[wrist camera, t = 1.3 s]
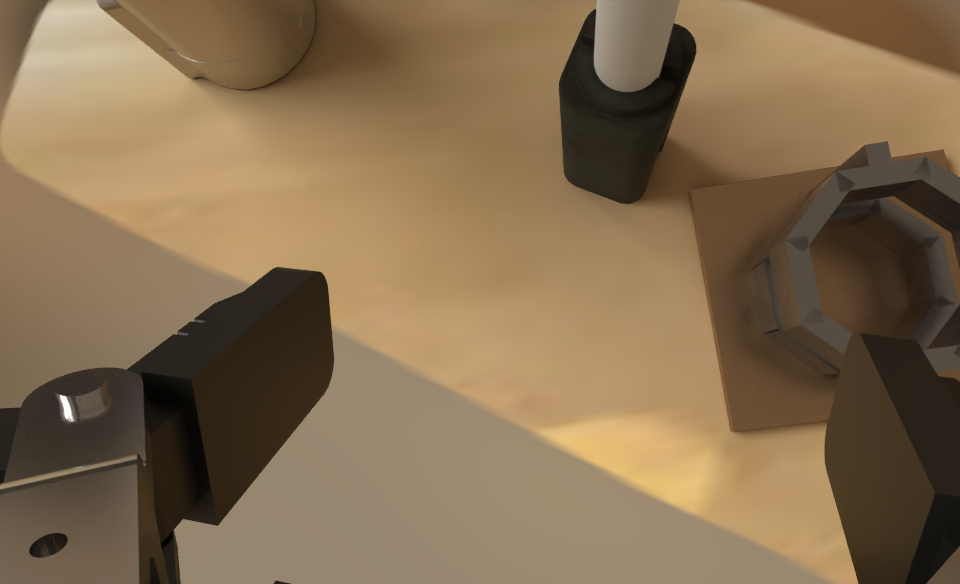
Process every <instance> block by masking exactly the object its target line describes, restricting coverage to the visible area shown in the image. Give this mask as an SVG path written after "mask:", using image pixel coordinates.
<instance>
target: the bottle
mask: <svg viewBox="0 0 960 584" xmlns="http://www.w3.org/2000/svg"><path fill="white" fill-rule="evenodd" d="M679 1H680V0H597V6H596V9H594V10H593V11H592V12H591V13H590V14H589V15H588V16H587V18H586V20H585V21H584V24H583V26H582V28H581V31H580V33H579V35H578V38H577V40H576V42H575V45H574V47H573V49H572V52H571V54H570V56H569V59H568V61H567V63H566V66H565V68H564V70H563V73H562V75H561V78H560V81H559V96H560V113H561V130H562V146H563V163H564V173H565V176H566V178H567V180H568V181H569V182H570V183H571V184H573V185H575V186H577V187H579V188H582V189H585V190H587V191H590V192H593V193H595V194H598V195H600V196H603V197H606V198H608V199H611V200H614V201H616V202H619V203H632V202H635V201H636V200H638V199H639V198H640V197H641V196H642V195H643V193H644V192H645V189H646V186H647V183H648V180H649V177H650V175H651V172H652V169H653V166H654V163H655V160H656V157H657V155H658V152H661V151H662V148H663V146H664V143H665V140H666V137H667V134H668V132H669V129H670V126H671V123H672V120H673V118H674V115H675V112H676V109H677V106H678V104H679V101H680V98H681V95H682V92H683V90H684V87H685V84H686V81H687V78H688V76H689V73H690V70H691V67H692V64H693V62H694V59H695V55H696V43H695V40H694V38H693V36H692V35H691V33H690V32H689V31H688V30H687V29H686V28H684V27H682V26H680V25H677V24H674V19H675V16H676V12H677V8H678V4H679Z"/></svg>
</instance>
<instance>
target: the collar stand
mask: <svg viewBox="0 0 960 584" xmlns="http://www.w3.org/2000/svg"><path fill="white" fill-rule="evenodd" d="M689 198H690V204H691V209H692V215H693V221H694V226H695V232H696V238H697V243H698V249H699V254H700V260H701V266H702V271H703V277H704V283H705V288H706V294H707V300H708V305H709V311H710V317H711V322H712V328H713V334H714V339H715V345H716V351H717V356H718V362H719V367H720V373H721V379H722V384H723V390H724V396H725V401H726V407H727V413H728V418H729V424H730V430H731V431H732V432H738V431H746V430H754V429H762V428H771V427H779V426H787V425H795V424H803V423H811V422H820V421H828V420H829V416H830V412H831V408H832V403H833V399H834V395H835V391H836V387H837V383H838V379H839V375H840V371H841V367H842V363H843V359H844V355H845V351H846V347H847V344H848V342H849V339H850V337H851V336H852V335H853V334H854V333H855V332H860V333H869V334H878V335H887V336H896V337H905V338H914V339H915V340H916V341H917V342H918V344H919V345H920V347H921V348H922V350H923V352H924V353H925V355H926V357H927V358H928V360H929V362H930V363H931V365H932V367H933V368H934V370H935V371H936V373H937V375H938V376H942V377H950V378H955V379H957V380H958V381H959V382H960V178H959V177H958V176H956V175H955V174H953V173H951V172H950V171H948V166H947V162H946V158H945V153H944V150H937V151H931V152H925V153H918V154H912V155H906V156H899V157H893V158H891V155H890V150H889V146H888V141H887V142H881V143H875V144H869V145H865V146H863V147H862V148H861V149H860V150H859V151H857V152H856V153H855V154H854V155H853V156H851V157H850V158H849V159H848V160H847V161H846V162H844V163H843V164H842V165H841V166H837V167H830V168H824V169H818V170H811V171H805V172H799V173H793V174H786V175H780V176H774V177H767V178H761V179H755V180H748V181H742V182H736V183H730V184H723V185H717V186H711V187H704V188H698V189H692V190H690V192H689Z"/></svg>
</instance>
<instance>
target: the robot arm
mask: <svg viewBox="0 0 960 584" xmlns="http://www.w3.org/2000/svg"><path fill="white" fill-rule="evenodd" d="M97 3H98V5H99V7H100V8H101V9H102V10H104V11H105V12H106V13H107V14H109V15H110V16H111V17H112V18H114V19H115V20H116V21H117V22H119V23H120V24H121V25H122V26H124V27H125V28H126V29H127V30H129V31H130V32H131V33H132V34H134V35H135V36H136V37H137V38H139V39H140V40H141V41H142V42H144V43H145V44H146V45H148V46H149V47H150V48H151V49H153V50H154V51H155V52H156V53H158V54H159V55H160V56H161V57H163V58H164V59H165V60H166V61H168V62H169V63H170V64H171V65H173V66H174V67H175V68H176V69H178V70H179V71H180V72H181V73H183V74H184V75H185V76H186V77H188V78H196V77H204V78H206V79H209V80H211V81H212V82H214V83H216V84H218V85H220V86H224V87H228V88H232V89H251V88H257V87H262V86H264V85H267V84H269V83H272V82H274V81H276V80H278V79H279V78H281V77H282V76H284V75H285V74H287V73H288V72H289V71H290V70H291V69H292V68H293V67H294V66H295V65H296V64H297V63H298V62H299V61H300V59H301V58H302V56H303V55H304V54H305V52H306V51H307V48H308V46H309V44H310V42H311V39H312V37H313V32H314V27H315V6H314V1H313V0H97ZM333 365H334V352H333V341H332V329H331V317H330V306H329V294H328V285H327V281H326V278H325V277H324V275H323V274H322V273H321V272H318V271H309V270H300V269H290V268H281V267H276V268H274V269H272V270H271V271H269V272H268V273H267V274H266V275H264V276H263V277H262V278H260V279H259V280H258V281H256V282H255V283H254V284H253V285H251V286H250V287H249V288H247V289H246V290H245V291H244V292H241V293H239V294H236V295H234V296H232V297H229V298H227V299H224V300H222V301H219V302H217V303H214V304H213V305H212V306H210V307H209V308H208V309H206V310H205V311H204V312H203V313H201V314H200V315H199V316H197V317H196V318H195V319H194V322H189V323H188V324H187V325H185V326H184V327H183V328H182V329H180V330H179V331H178V334H177V335H172V336H171V337H169V338H168V339H167V340H165V341H164V342H163V343H161V344H160V345H159V346H158V347H156V348H155V349H154V350H152V351H151V352H149V353H148V354H147V355H145V356H144V357H143V358H141V359H140V360H139V361H137V362H136V363H135V364H133V365H132V366H131V367H130V368H128V369H127V370H125V369H120V368H94V369H87V370H82V371H77V372H73V373H70V374H66V375H64V376H61V377H59V378H56V379H54V380H51V381H49V382H47V383H45V384H44V385H42V386H40V387H39V388H37V389H36V390H34V391H33V392H32V393H31V394H30V395H29V396H28V397H27V398H26V399H25V400H24V402H23V404H22V406H21V408H3V409H0V584H181V582H180V568H179V557H178V546H177V542H176V537H175V532H174V529H175V528H176V526H177V525H178V524H179V523H180V522H181V520H183V519H186V520H192V521H197V522H202V523H207V524H212V525H217V526H218V525H219V523H220V522H221V521H222V520H223V519H224V517H225V516H226V515H227V514H228V512H229V511H230V510H231V509H232V507H233V506H234V505H235V504H236V502H237V501H238V500H239V498H241V496H242V495H243V494H244V493H245V491H246V490H247V489H248V488H249V486H250V485H251V484H252V483H253V481H254V480H255V479H256V478H257V476H258V475H259V474H260V473H261V472H262V470H263V469H264V468H265V467H266V465H267V464H268V463H269V462H270V460H271V459H272V458H273V457H274V455H275V454H276V453H277V452H278V450H279V449H280V448H281V447H282V445H283V444H284V443H285V442H286V441H287V439H288V438H289V437H290V435H291V434H292V433H293V432H294V431H295V429H296V428H297V427H298V425H299V424H300V423H301V422H302V421H303V419H304V418H305V417H306V415H307V414H308V413H309V412H310V411H311V409H312V408H313V407H314V406H315V405H316V403H317V402H318V401H319V400H320V398H321V397H322V396H323V395H324V393H325V392H326V390H327V388H328V386H329V383H330V380H331V377H332V372H333ZM825 465H826V470H827V474H828V477H829V481H830V484H831V488H832V491H833V495H834V498H835V502H836V505H837V509H838V512H839V516H840V519H841V523H842V527H843V530H844V534H845V537H846V541H847V544H848V548H849V551H850V555H851V558H852V562H853V565H854V569H855V572H856V576H857V579H858V583H859V584H960V382H959V381H958V380H957V379H955V378H950V377H942V376H938V375H937V373H936V371H935V370H934V368H933V367H932V365H931V363H930V362H929V360H928V358H927V357H926V355H925V353H924V352H923V350H922V348H921V347H920V345H919V344H918V342H917V341H916V340H915V339H914V338H905V337H896V336H887V335H878V334H869V333H860V332H855V333H854V334H853V335H852V336H851V337H850V339H849V342H848V344H847V347H846V351H845V355H844V359H843V363H842V367H841V371H840V375H839V379H838V383H837V387H836V391H835V395H834V399H833V403H832V408H831V412H830V416H829V420H828V424H827V429H826V436H825ZM274 584H289V583H284V582H279V581H275V583H274Z"/></svg>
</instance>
